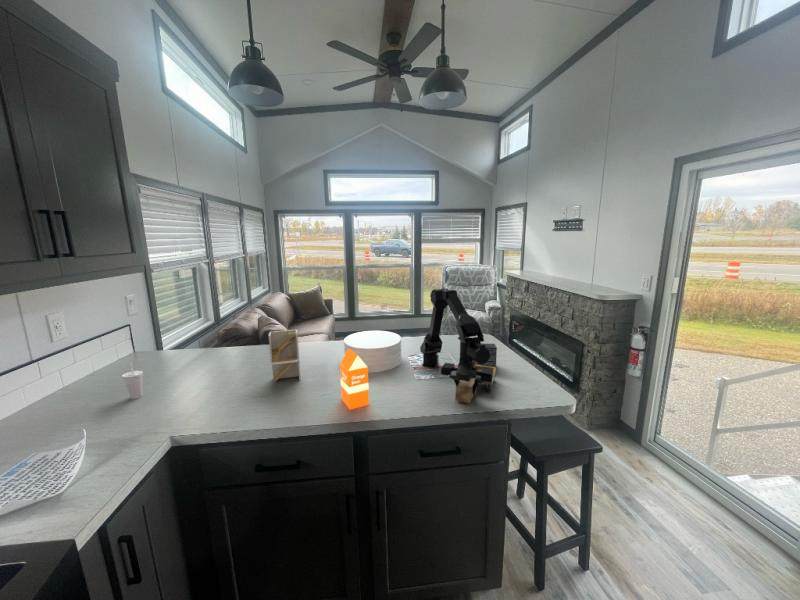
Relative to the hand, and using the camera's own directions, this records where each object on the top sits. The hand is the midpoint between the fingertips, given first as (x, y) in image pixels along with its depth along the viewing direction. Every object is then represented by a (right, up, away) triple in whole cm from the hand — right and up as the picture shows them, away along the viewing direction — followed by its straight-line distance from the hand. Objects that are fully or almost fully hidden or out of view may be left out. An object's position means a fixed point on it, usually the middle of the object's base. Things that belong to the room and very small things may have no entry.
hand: (466, 393), depth 124 cm
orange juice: (-42, -3, -2) cm, 42 cm away
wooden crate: (-74, 0, +18) cm, 76 cm away
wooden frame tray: (+9, 0, +11) cm, 14 cm away
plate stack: (-39, +5, +38) cm, 54 cm away
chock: (0, -1, 0) cm, 1 cm away
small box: (+14, +4, +30) cm, 33 cm away
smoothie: (-128, -3, +4) cm, 128 cm away
